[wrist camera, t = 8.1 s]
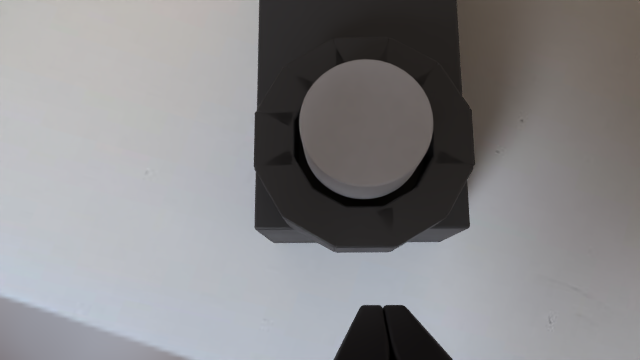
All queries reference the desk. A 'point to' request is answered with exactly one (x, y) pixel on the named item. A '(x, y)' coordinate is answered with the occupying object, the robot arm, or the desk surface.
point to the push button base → (287, 98)
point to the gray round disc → (365, 128)
